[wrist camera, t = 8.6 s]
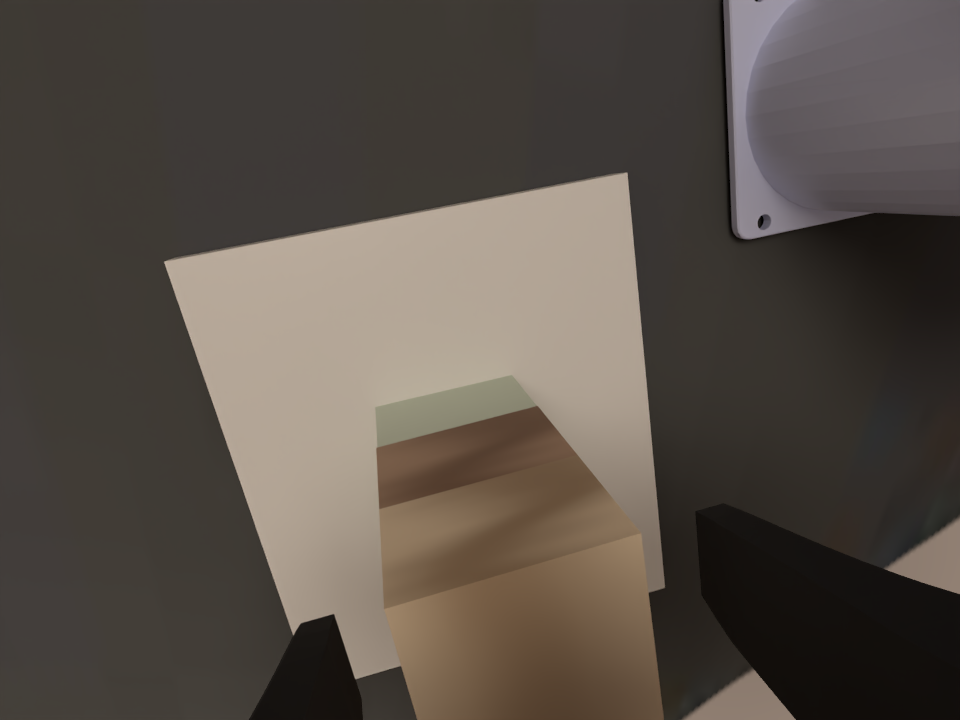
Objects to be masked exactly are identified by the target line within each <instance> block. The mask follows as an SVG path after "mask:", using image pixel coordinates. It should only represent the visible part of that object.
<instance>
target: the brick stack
mask: <svg viewBox="0 0 960 720" xmlns="http://www.w3.org/2000/svg"><path fill="white" fill-rule="evenodd" d="M376 455H377V475H378V496H379V516H380V536H381V557H382V577H383V597H384V611H385V614H386V617H387V621H388V624H389V627H390V630H391V634H392V637H393V640H394V644H395V647H396V650H397V654H398V657H399V660H400V664H401V667H402V670H403V674H404V677H405V680H406V683H407V687H408V690H409V693H410V697H411V700H412V703H413V707H414V710H415V713H416V717H417V720H664V716H663V708H662V700H661V692H660V683H659V675H658V667H657V659H656V651H655V642H654V634H653V626H652V618H651V610H650V601H649V593H648V585H647V577H646V569H645V560H644V552H643V544H642V536H641V532H640V531H639V530H638V529H637V527H636V526H635V525H634V524H633V522H632V521H631V520H630V519H629V518H628V516H627V515H626V514H625V513H624V511H623V510H622V509H621V508H620V506H619V505H618V504H617V503H616V502H615V500H614V499H613V498H612V497H611V495H610V494H609V493H608V492H607V490H606V489H605V488H604V487H603V486H602V484H601V483H600V482H599V481H598V479H597V478H596V477H595V476H594V474H593V473H592V472H591V471H590V470H589V468H588V467H587V466H586V465H585V463H584V462H583V461H582V460H581V458H580V457H579V456H578V455H577V454H576V452H575V451H574V450H573V449H572V447H571V446H570V445H569V444H568V442H567V441H566V440H565V439H564V438H563V436H562V435H561V434H560V433H559V431H558V430H557V429H556V428H555V426H554V425H553V424H552V423H551V422H550V420H549V419H548V418H547V417H546V415H545V414H544V413H543V412H542V410H541V409H540V408H539V407H538V406H535V407H531V408H528V409H524V410H520V411H516V412H512V413H508V414H504V415H501V416H497V417H493V418H489V419H485V420H481V421H478V422H474V423H470V424H466V425H462V426H458V427H454V428H451V429H447V430H443V431H439V432H435V433H431V434H428V435H424V436H420V437H416V438H412V439H408V440H404V441H401V442H397V443H393V444H389V445H385V446H381V447H378V448H376Z"/></svg>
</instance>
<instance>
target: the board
mask: <svg viewBox="0 0 960 720" xmlns="http://www.w3.org/2000/svg"><path fill="white" fill-rule="evenodd" d="M164 263H165V266H166V269H167V272H168V274H169V277H170V280H171V283H172V286H173V289H174V292H175V295H176V298H177V301H178V303H179V306H180V309H181V312H182V315H183V318H184V321H185V324H186V327H187V329H188V332H189V335H190V338H191V341H192V344H193V347H194V350H195V353H196V355H197V358H198V361H199V364H200V367H201V370H202V373H203V376H204V379H205V381H206V384H207V387H208V390H209V393H210V396H211V399H212V402H213V405H214V407H215V410H216V413H217V416H218V419H219V422H220V425H221V428H222V431H223V433H224V436H225V439H226V442H227V445H228V448H229V451H230V454H231V457H232V459H233V462H234V465H235V468H236V471H237V474H238V477H239V480H240V483H241V485H242V488H243V491H244V494H245V497H246V500H247V503H248V506H249V509H250V512H251V514H252V517H253V520H254V523H255V526H256V529H257V532H258V535H259V538H260V540H261V543H262V546H263V549H264V552H265V555H266V558H267V561H268V564H269V566H270V569H271V572H272V575H273V578H274V581H275V584H276V587H277V590H278V592H279V595H280V598H281V601H282V604H283V607H284V610H285V613H286V616H287V618H288V621H289V624H290V627H291V630H292V633H293V636H294V634H295V632H296V630H297V628H298V627H299V625H300V624H301V623H303V622H307V621H311V620H314V619H318V618H321V617H325V616H328V615H332V614H334V615H335V618H336V621H337V624H338V627H339V631H340V634H341V637H342V640H343V643H344V646H345V649H346V652H347V655H348V658H349V661H350V665H351V668H352V671H353V674H354V677H355V679H358V678H361V677H365V676H368V675H371V674H375V673H378V672H381V671H385V670H388V669H392V668H395V667H398V666H401V664H400V660H399V657H398V654H397V650H396V647H395V644H394V640H393V637H392V634H391V630H390V627H389V624H388V621H387V617H386V614H385V611H384V597H383V577H382V557H381V536H380V516H379V496H378V475H377V455H376V448H378V447H381V446H385V445H389V444H393V443H397V442H401V441H404V440H408V439H412V438H416V437H420V436H424V435H428V434H431V433H435V432H439V431H443V430H447V429H451V428H454V427H458V426H462V425H466V424H470V423H474V422H478V421H481V420H485V419H489V418H493V417H497V416H501V415H504V414H508V413H512V412H516V411H520V410H524V409H528V408H531V407H535V406H538V407H539V408H540V409H541V410H542V412H543V413H544V414H545V415H546V417H547V418H548V419H549V420H550V422H551V423H552V424H553V425H554V426H555V428H556V429H557V430H558V431H559V433H560V434H561V435H562V436H563V438H564V439H565V440H566V441H567V442H568V444H569V445H570V446H571V447H572V449H573V450H574V451H575V452H576V454H577V455H578V456H579V457H580V458H581V460H582V461H583V462H584V463H585V465H586V466H587V467H588V468H589V470H590V471H591V472H592V473H593V474H594V476H595V477H596V478H597V479H598V481H599V482H600V483H601V484H602V486H603V487H604V488H605V489H606V490H607V492H608V493H609V494H610V495H611V497H612V498H613V499H614V500H615V502H616V503H617V504H618V505H619V506H620V508H621V509H622V510H623V511H624V513H625V514H626V515H627V516H628V518H629V519H630V520H631V521H632V522H633V524H634V525H635V526H636V527H637V529H638V530H639V531H640V532H641V536H642V544H643V552H644V560H645V569H646V577H647V585H648V593H649V592H652V591H656V590H659V589H662V588H665V582H664V571H663V560H662V549H661V538H660V527H659V516H658V505H657V494H656V483H655V472H654V461H653V450H652V439H651V428H650V417H649V406H648V395H647V384H646V373H645V362H644V351H643V340H642V329H641V318H640V307H639V296H638V285H637V274H636V263H635V252H634V241H633V230H632V219H631V208H630V198H629V187H628V176H627V173H616V174H610V175H604V176H599V177H594V178H589V179H583V180H578V181H573V182H568V183H563V184H557V185H552V186H547V187H542V188H537V189H531V190H526V191H521V192H516V193H510V194H505V195H500V196H495V197H490V198H484V199H479V200H474V201H469V202H464V203H458V204H453V205H448V206H443V207H437V208H432V209H427V210H422V211H417V212H411V213H406V214H401V215H396V216H391V217H385V218H380V219H375V220H370V221H364V222H359V223H354V224H349V225H344V226H338V227H333V228H328V229H323V230H318V231H312V232H307V233H302V234H297V235H291V236H286V237H281V238H276V239H271V240H265V241H260V242H255V243H250V244H245V245H239V246H234V247H229V248H224V249H219V250H213V251H208V252H203V253H198V254H192V255H187V256H182V257H177V258H173V259H170V260H167V261H165V262H164Z"/></svg>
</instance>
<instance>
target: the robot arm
mask: <svg viewBox="0 0 960 720" xmlns="http://www.w3.org/2000/svg"><path fill="white" fill-rule="evenodd" d="M723 7H724V33H725V59H726V86H727V112H728V138H729V164H730V191H731V217H732V230H733V233H734V234H735V236H736V237H738V238H740V239H754V238H759V237H764V236H768V235H773V234H778V233H782V232H787V231H792V230H796V229H801V228H806V227H810V226H815V225H820V224H824V223H829V222H834V221H838V220H843V219H848V218H852V217H857V216H862V215H866V214H871V213H895V214H919V215H943V216H960V0H758V1H757V2H756V1H755V0H723ZM760 216H763V219H764V222H763V225H762V226H761V228H759V227H758V224H757V223H758V219H759V218H760ZM695 512H696V525H697V539H698V552H699V566H700V579H701V593H702V596H703V598H704V600H705V601H706V603H707V604H708V606H709V608H710V609H711V611H712V612H713V614H714V615H715V617H716V619H717V620H718V622H719V623H720V625H721V626H722V628H723V629H724V631H725V632H726V634H727V635H728V637H729V638H730V640H731V641H732V643H733V644H734V645H735V646H736V648H737V649H738V650H739V651H740V653H741V654H742V655H743V656H744V658H745V659H746V660H747V661H748V662H749V664H750V665H751V666H752V667H753V669H754V670H755V671H756V672H757V673H758V675H759V676H760V677H761V678H762V679H763V681H764V682H765V683H766V684H767V685H768V687H769V688H770V689H771V690H772V691H773V692H774V694H775V695H776V696H777V697H778V699H779V700H780V701H781V702H782V703H783V705H784V706H785V707H786V708H787V709H788V711H789V712H790V713H791V714H792V715H793V717H794V718H795V719H796V720H960V594H957V593H954V592H950V591H947V590H944V589H941V588H937V587H934V586H931V585H928V584H925V583H921V582H919V581H916V580H913V579H910V578H907V577H904V576H901V575H898V574H896V573H893V572H890V571H888V570H885V569H882V568H879V567H877V566H874V565H871V564H869V563H866V562H863V561H861V560H858V559H856V558H853V557H850V556H848V555H845V554H843V553H840V552H838V551H835V550H833V549H831V548H828V547H826V546H823V545H821V544H819V543H816V542H814V541H811V540H809V539H807V538H804V537H802V536H800V535H797V534H795V533H793V532H790V531H788V530H786V529H783V528H781V527H779V526H777V525H774V524H772V523H770V522H767V521H765V520H763V519H760V518H758V517H756V516H753V515H751V514H749V513H746V512H744V511H742V510H739V509H737V508H734V507H732V506H729V505H726V504H720V505H717V506H713V507H709V508H706V509H702V510H699V511H695ZM249 720H363V715H362V700H361V695H360V692H359V689H358V686H357V683H356V680H355V677H354V674H353V671H352V668H351V665H350V661H349V658H348V655H347V652H346V649H345V646H344V643H343V640H342V637H341V634H340V631H339V627H338V624H337V621H336V618H335V615H334V614H332V615H328V616H325V617H321V618H318V619H314V620H311V621H307V622H303V623H301V624H300V625H299V627H298V628H297V630H296V632H295V634H294V636H293V638H292V640H291V641H290V643H289V645H288V647H287V649H286V651H285V653H284V655H283V657H282V659H281V661H280V663H279V665H278V667H277V669H276V671H275V673H274V675H273V677H272V679H271V681H270V682H269V684H268V686H267V688H266V690H265V692H264V694H263V696H262V697H261V699H260V701H259V703H258V705H257V706H256V708H255V710H254V712H253V714H252V715H251V717H250V719H249Z"/></svg>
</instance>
